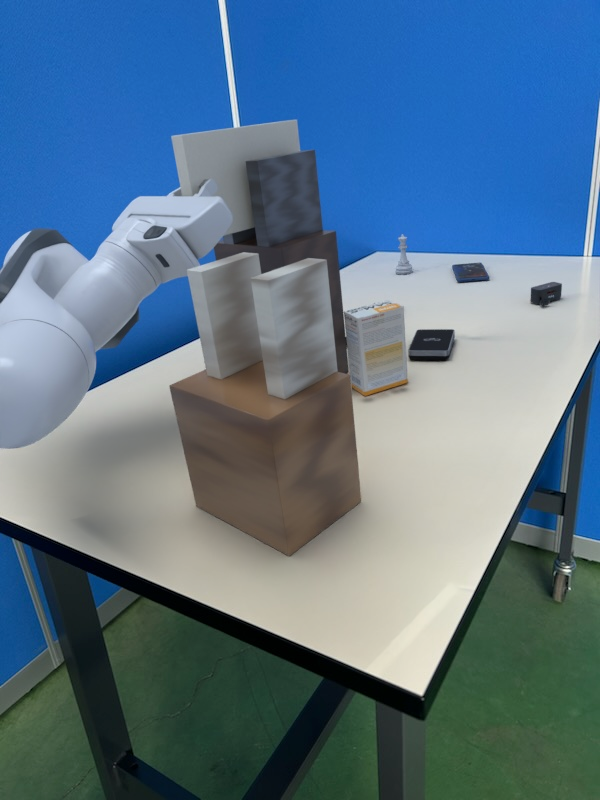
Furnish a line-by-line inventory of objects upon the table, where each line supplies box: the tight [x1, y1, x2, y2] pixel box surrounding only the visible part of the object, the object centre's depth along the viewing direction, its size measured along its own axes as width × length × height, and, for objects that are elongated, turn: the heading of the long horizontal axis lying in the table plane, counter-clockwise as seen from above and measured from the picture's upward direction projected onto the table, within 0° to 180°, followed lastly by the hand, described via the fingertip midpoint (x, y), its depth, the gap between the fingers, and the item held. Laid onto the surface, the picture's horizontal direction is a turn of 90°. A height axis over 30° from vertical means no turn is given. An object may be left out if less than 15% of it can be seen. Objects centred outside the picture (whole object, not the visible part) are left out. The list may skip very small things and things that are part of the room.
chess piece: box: [395, 233, 414, 276], centre depth 162 cm, size 4×4×10 cm
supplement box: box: [343, 299, 409, 397], centre depth 98 cm, size 8×5×13 cm, turn 114°
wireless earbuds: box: [529, 281, 563, 307], centre depth 128 cm, size 5×7×3 cm, turn 115°
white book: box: [170, 119, 301, 236], centre depth 92 cm, size 22×2×14 cm, turn 136°
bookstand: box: [213, 149, 350, 374], centre depth 101 cm, size 12×16×36 cm
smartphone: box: [451, 262, 491, 283], centre depth 155 cm, size 8×1×15 cm
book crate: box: [168, 252, 362, 557], centre depth 68 cm, size 12×16×28 cm
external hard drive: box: [407, 328, 456, 361], centre depth 111 cm, size 7×11×2 cm, turn 162°
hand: (204, 183), depth 87 cm, fingers closed on white book, 2 cm apart
